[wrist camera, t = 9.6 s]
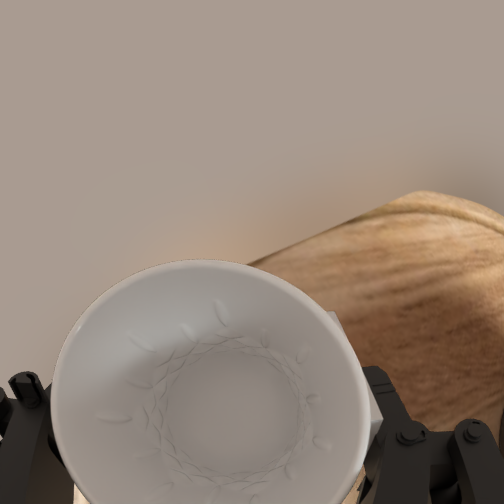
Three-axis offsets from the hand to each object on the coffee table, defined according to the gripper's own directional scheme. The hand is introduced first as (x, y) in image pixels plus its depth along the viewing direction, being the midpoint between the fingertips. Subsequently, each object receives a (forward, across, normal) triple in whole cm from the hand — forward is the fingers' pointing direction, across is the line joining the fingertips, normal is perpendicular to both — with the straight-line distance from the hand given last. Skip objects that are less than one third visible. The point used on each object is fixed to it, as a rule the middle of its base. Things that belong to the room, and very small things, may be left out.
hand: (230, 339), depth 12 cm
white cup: (0, 0, -5) cm, 5 cm away
